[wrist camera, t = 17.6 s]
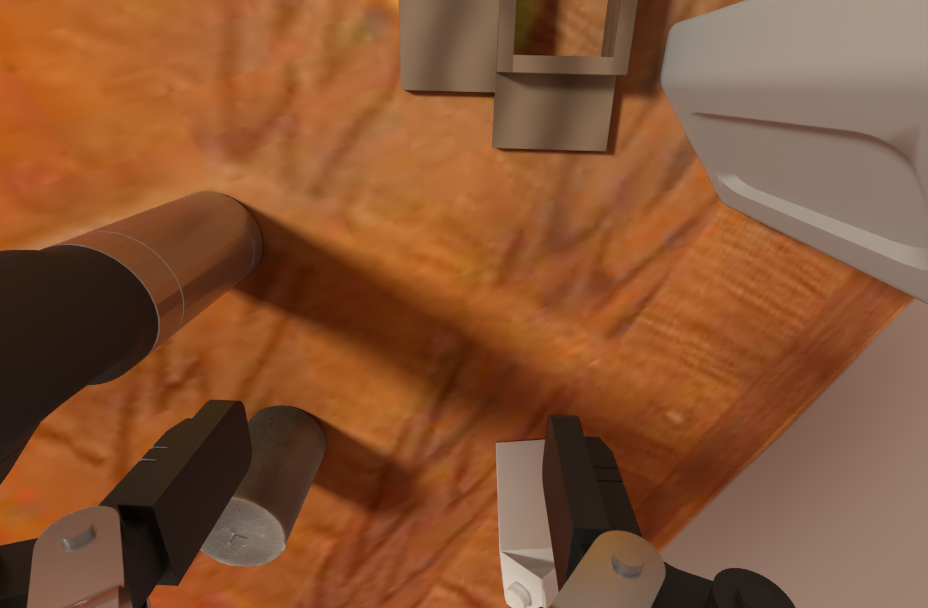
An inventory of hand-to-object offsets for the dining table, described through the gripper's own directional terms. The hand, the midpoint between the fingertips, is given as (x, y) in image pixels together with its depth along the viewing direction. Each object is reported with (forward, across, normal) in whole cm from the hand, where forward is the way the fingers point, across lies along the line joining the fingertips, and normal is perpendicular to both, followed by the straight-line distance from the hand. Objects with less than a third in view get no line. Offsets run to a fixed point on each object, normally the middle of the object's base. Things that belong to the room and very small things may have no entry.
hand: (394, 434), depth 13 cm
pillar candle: (+36, +20, +31) cm, 52 cm away
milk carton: (+36, -9, +33) cm, 50 cm away
